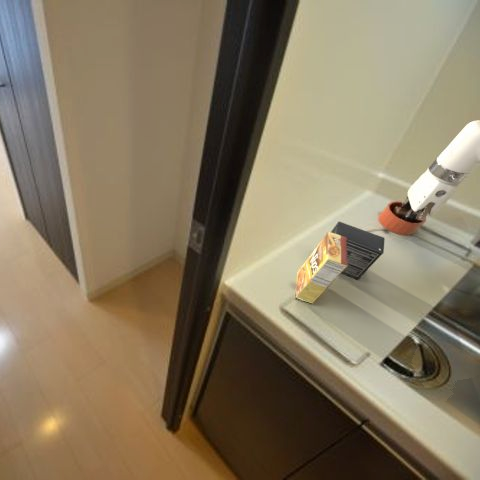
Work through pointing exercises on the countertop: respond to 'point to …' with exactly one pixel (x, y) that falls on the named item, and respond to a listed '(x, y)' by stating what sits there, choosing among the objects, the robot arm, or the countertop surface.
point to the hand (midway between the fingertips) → (399, 222)
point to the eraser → (402, 212)
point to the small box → (359, 249)
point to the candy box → (322, 267)
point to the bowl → (397, 221)
